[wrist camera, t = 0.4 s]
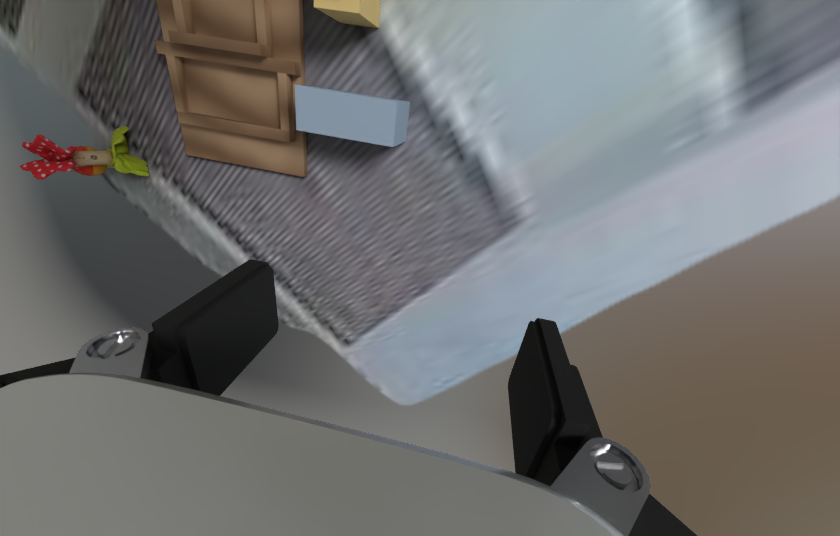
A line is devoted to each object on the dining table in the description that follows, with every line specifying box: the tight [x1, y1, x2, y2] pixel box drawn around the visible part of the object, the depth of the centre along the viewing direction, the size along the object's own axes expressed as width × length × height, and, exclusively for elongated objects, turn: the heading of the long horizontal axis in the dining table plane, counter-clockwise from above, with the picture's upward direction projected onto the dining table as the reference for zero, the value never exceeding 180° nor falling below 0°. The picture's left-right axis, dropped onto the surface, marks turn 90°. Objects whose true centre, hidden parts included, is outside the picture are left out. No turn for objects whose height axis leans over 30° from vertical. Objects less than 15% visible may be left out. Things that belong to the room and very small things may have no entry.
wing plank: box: [295, 85, 410, 147], centre depth 33 cm, size 4×10×6 cm, turn 82°
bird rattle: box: [20, 126, 149, 179], centre depth 39 cm, size 6×11×9 cm
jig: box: [155, 0, 307, 177], centre depth 33 cm, size 28×16×3 cm, turn 172°
